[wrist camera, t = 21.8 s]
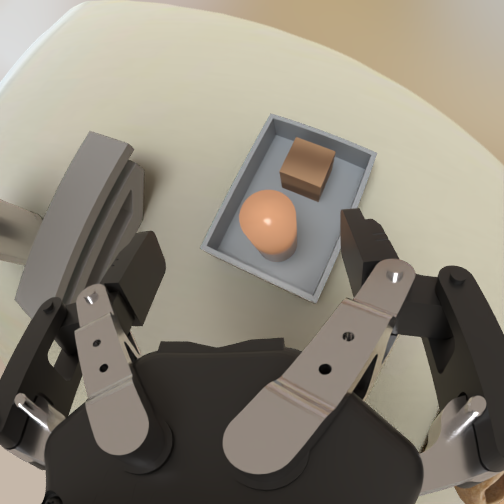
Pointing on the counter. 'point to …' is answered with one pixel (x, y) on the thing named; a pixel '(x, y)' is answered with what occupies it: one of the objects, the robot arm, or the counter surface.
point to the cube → (307, 169)
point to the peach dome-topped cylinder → (270, 224)
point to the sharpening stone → (84, 223)
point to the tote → (307, 211)
